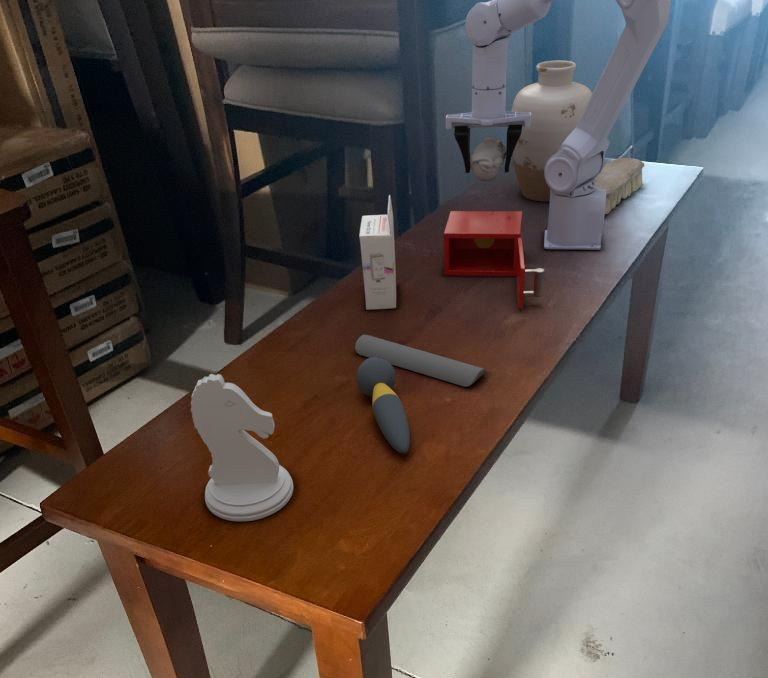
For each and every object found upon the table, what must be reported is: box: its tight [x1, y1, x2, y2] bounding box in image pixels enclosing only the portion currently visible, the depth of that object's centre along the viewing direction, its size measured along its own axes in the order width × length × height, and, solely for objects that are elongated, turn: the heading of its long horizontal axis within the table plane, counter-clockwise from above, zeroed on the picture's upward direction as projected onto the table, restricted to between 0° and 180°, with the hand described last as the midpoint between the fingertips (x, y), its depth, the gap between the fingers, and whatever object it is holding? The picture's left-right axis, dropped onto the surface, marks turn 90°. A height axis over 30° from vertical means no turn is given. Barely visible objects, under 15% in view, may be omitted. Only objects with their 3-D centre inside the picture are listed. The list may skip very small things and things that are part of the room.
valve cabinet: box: [443, 210, 523, 277], centre depth 128 cm, size 12×10×7 cm
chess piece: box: [190, 373, 294, 522], centre depth 81 cm, size 10×10×15 cm
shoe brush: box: [595, 157, 645, 215], centre depth 148 cm, size 24×8×5 cm, turn 147°
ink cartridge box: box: [358, 194, 397, 311], centre depth 118 cm, size 9×5×15 cm, turn 179°
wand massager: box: [356, 357, 411, 454], centre depth 95 cm, size 20×5×5 cm, turn 17°
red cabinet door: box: [515, 237, 546, 309], centre depth 118 cm, size 12×4×6 cm, turn 175°
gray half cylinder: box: [354, 334, 487, 387], centre depth 105 cm, size 4×20×2 cm, turn 54°
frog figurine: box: [469, 136, 507, 182], centre depth 137 cm, size 6×7×7 cm
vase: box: [510, 59, 593, 202], centre depth 147 cm, size 16×16×23 cm
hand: (487, 171), depth 138 cm, fingers closed on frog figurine, 6 cm apart
